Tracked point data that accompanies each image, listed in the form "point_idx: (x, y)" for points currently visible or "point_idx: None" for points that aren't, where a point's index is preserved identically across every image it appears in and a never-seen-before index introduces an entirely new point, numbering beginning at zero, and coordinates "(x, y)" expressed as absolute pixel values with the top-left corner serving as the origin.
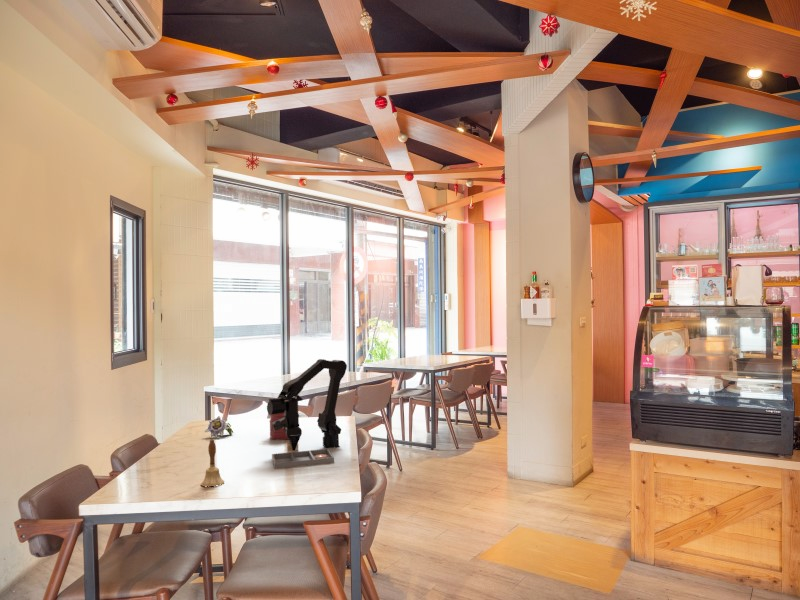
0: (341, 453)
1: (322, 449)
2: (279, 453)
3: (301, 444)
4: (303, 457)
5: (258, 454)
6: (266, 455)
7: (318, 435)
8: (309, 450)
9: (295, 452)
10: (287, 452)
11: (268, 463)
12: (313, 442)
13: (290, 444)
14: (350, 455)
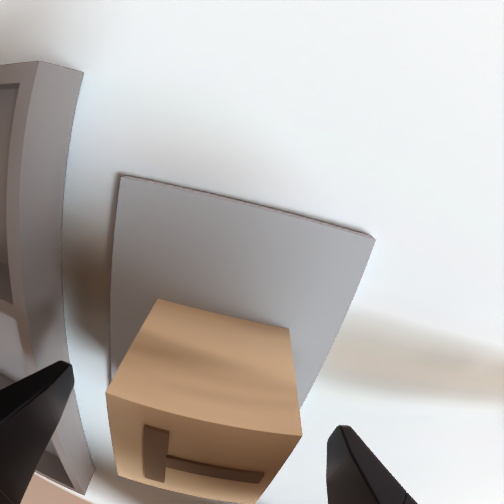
0: (101, 495)
1: (72, 480)
2: (14, 170)
3: (463, 445)
4: (21, 357)
5: (475, 43)
6: (384, 78)
7: (496, 481)
8: (60, 441)
9: (24, 349)
10: (209, 324)
11: (7, 37)
12: (435, 484)
13: (110, 421)
14: (58, 485)
